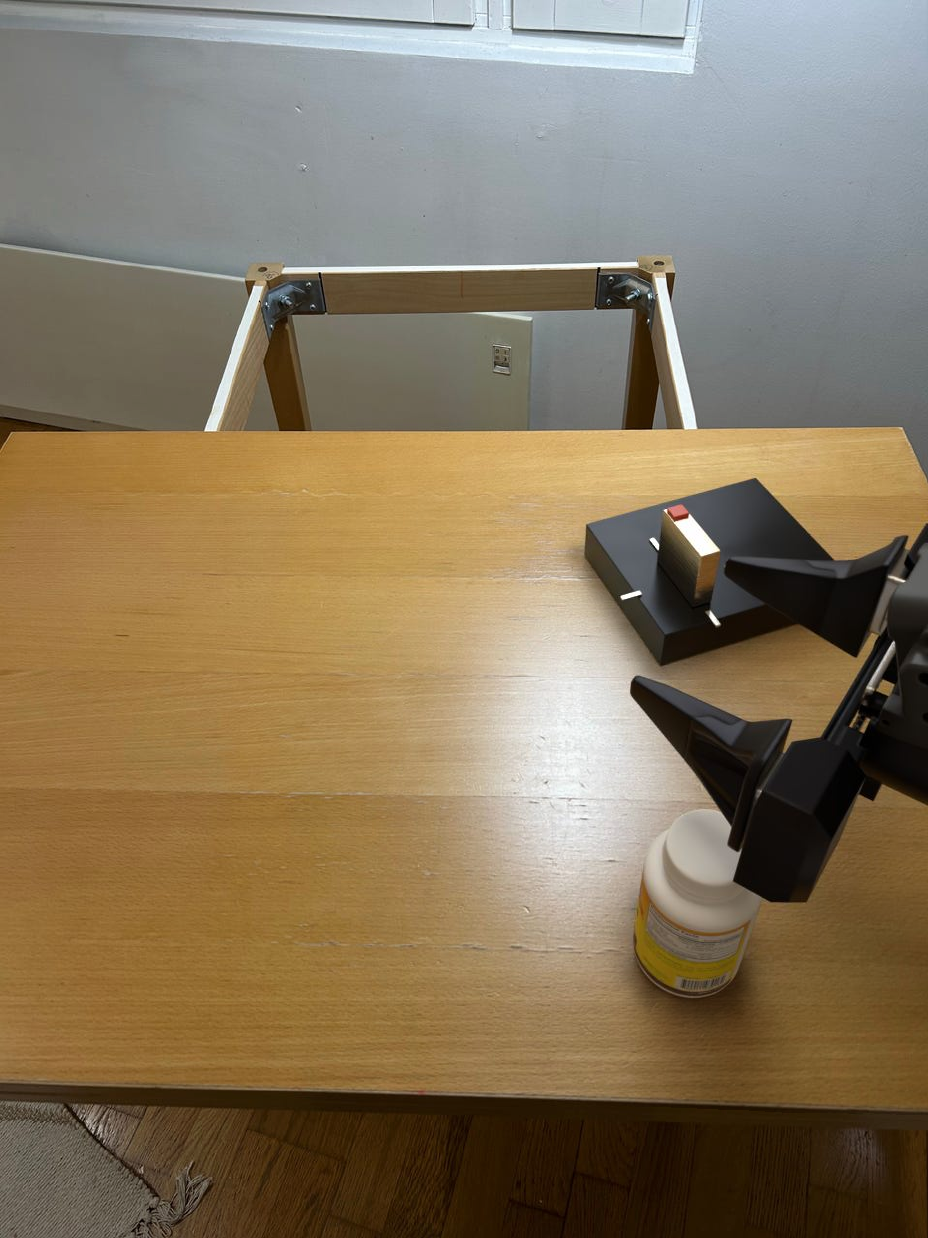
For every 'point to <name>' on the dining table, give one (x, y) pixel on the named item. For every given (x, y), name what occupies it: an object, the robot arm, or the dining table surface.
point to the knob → (688, 555)
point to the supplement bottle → (693, 908)
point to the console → (738, 528)
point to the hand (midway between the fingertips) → (681, 621)
